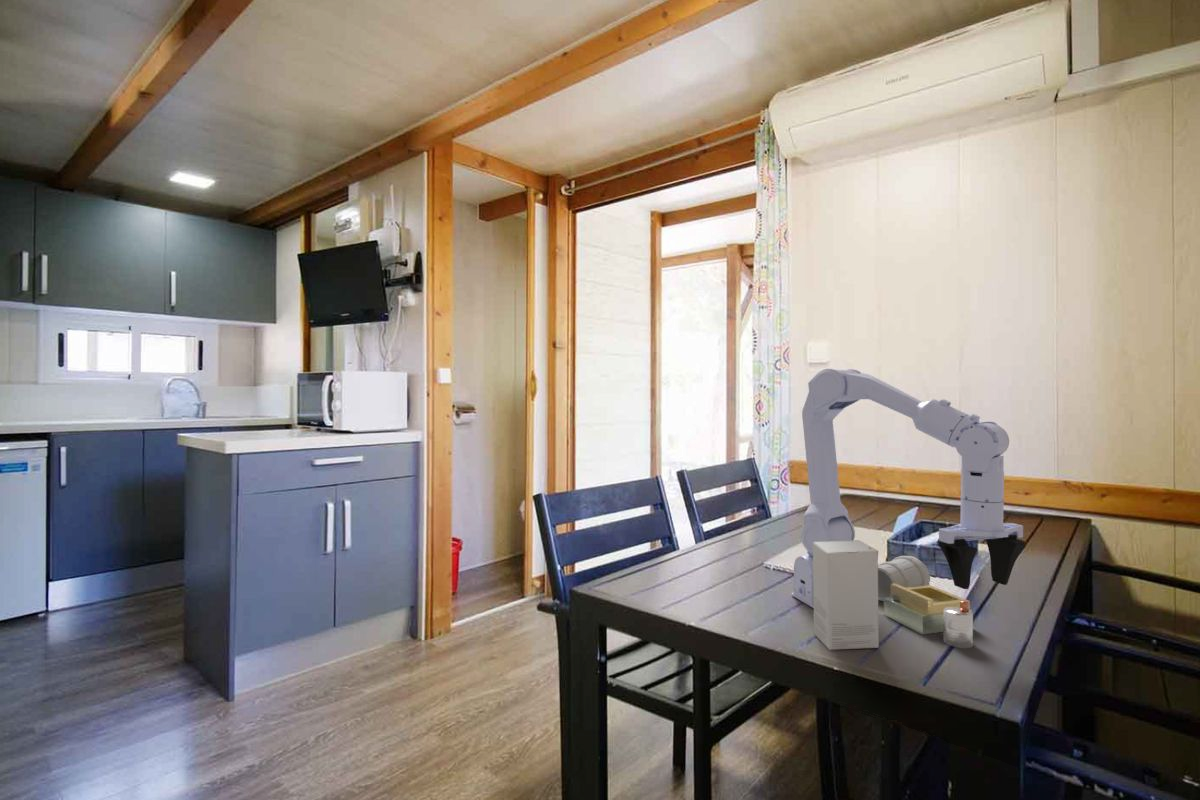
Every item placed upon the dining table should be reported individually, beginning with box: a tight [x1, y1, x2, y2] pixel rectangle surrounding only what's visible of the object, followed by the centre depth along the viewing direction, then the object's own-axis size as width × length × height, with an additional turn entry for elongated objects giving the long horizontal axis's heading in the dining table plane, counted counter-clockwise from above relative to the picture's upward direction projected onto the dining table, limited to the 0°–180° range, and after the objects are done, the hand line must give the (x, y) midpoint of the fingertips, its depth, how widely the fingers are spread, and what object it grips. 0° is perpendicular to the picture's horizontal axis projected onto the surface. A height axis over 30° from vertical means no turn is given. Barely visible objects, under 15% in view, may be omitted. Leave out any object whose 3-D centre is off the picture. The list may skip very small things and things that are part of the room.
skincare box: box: [813, 539, 880, 651], centre depth 95 cm, size 8×7×16 cm
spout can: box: [942, 600, 974, 649], centre depth 95 cm, size 4×4×6 cm
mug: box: [878, 555, 931, 602], centre depth 116 cm, size 8×12×12 cm
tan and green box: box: [883, 583, 973, 635], centre depth 104 cm, size 10×9×6 cm
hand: (980, 585), depth 95 cm, fingers open, 7 cm apart
